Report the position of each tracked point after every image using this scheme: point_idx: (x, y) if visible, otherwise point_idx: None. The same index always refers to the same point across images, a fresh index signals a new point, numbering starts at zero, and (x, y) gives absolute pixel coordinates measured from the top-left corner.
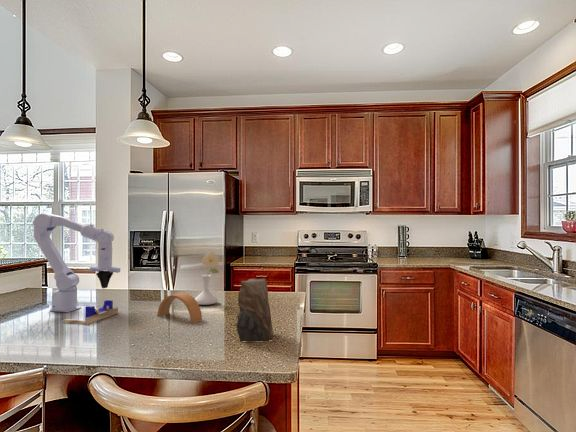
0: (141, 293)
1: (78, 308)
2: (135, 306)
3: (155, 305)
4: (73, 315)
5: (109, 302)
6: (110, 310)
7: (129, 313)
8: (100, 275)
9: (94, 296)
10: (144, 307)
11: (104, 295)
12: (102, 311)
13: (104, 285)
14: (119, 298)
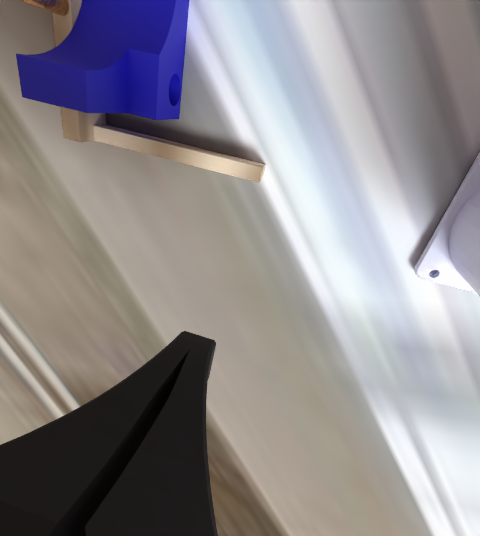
0: (220, 506)
1: (429, 243)
2: (101, 295)
3: (25, 307)
4: (397, 25)
5: (34, 56)
6: (56, 33)
7: (22, 130)
8: (113, 493)
9: (432, 513)
10: (44, 272)
11: (382, 517)
12: (118, 19)
13: (164, 350)
14: (275, 453)
